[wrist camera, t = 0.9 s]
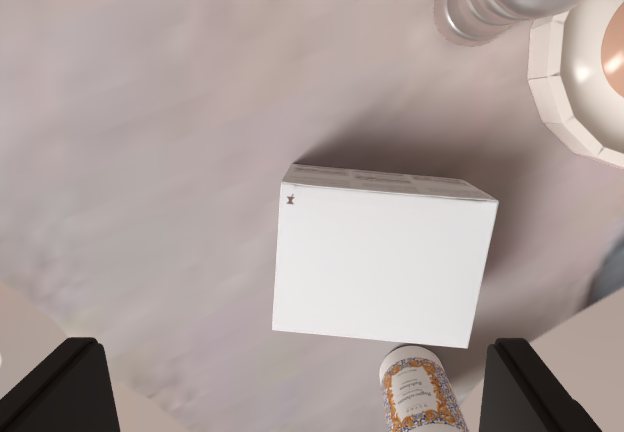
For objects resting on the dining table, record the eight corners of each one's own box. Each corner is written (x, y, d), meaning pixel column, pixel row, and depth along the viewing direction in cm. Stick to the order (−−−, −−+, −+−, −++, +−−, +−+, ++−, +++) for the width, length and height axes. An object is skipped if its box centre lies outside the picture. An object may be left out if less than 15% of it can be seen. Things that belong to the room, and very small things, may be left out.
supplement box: (282, 285, 44) (268, 332, 35) (290, 162, 40) (278, 179, 31) (441, 301, 43) (470, 353, 34) (465, 177, 40) (503, 200, 31)
